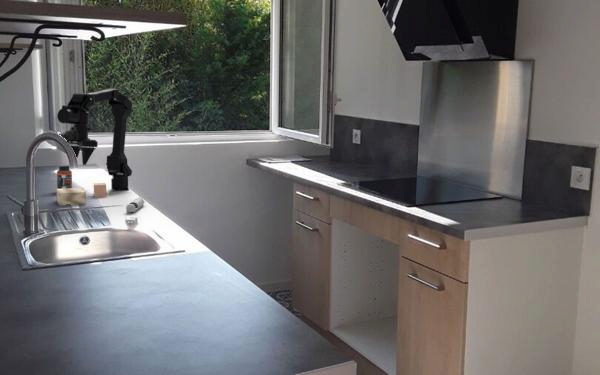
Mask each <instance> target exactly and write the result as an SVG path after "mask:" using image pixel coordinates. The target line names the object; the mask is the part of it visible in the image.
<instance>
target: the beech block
mask: <svg viewBox="0 0 600 375" xmlns="http://www.w3.org/2000/svg"><path fill="white" fill-rule="evenodd" d="M56 202H57V205H58V204H59V205H58V206H67V205H66V204H77V205H87V192H86V190H85V189H84V187H72V188H64V189H57V188H56Z"/></svg>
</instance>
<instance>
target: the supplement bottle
mask: <svg viewBox="0 0 600 375" xmlns="http://www.w3.org/2000/svg"><path fill="white" fill-rule="evenodd" d="M58 168H59V169H58V170H57V171H56V186H57V188H56V190H57V189H64V188H73V172H72V170H70V165H69V164H59V165H58Z"/></svg>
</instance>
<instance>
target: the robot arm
mask: <svg viewBox="0 0 600 375" xmlns="http://www.w3.org/2000/svg"><path fill="white" fill-rule="evenodd" d="M104 101H107V104H108V105H109V106H110V108H111V114H112V116H113V119H114V122H113V123H114V124H113V134H112V135H113V137H112V138H113V139H112V151H111V153H110V154H109V155H107V156H106V164H105V165H106V168H107V173H108V176H112V178H110V187H111V189H112V190H113V191H129V190H130V189H129V177H131V176H132V175H133V170H132V169H131V168H130V166H129V164H128V158H127V156H126V154H125V147H126V146H125V145H126V132H127V120H128V119H129V117H130V116H131V113H132V107H133V103H132V101H131V100H130V99H129V98H128V97H127V96H126V95H124V94H122V93H121V92H119V90H118V89H116V88H106V89H103V90H98V91H94V92H89V93H88V92H86V93H85V92H73V94H72V97H71V98H70V99H69V102H68V103H67V105H61V109H59V110H58V112H57V114H56V116H57V121H58V122H59V123H61V124H67V125H73V126H71V127H70V130H66V131H63V132H59V133H58V134H59V135H61V136H62V137H63V138H65V139H66V140H67V142H68V143H69V144H70V145H71V147H72V148H73V150H74V152H75V154H76V157H77V159H78V157H79V156H80V152H81V162H82V165H83V166H86V165H87V164H88V161H89V160H90V159H91V156H92V155H93V153H94V151H95V150H96V149H97V148H98V147H99V146H98V141H97V140H96V139H91V138H89V131H91V127H89V122H90V121H89V120H90V119H89V118H90V115H93V114H94V113H93V111H92V110H91V109H90V108H91V107H94V106H95V104H97V103H100V102H104Z"/></svg>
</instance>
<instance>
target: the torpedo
mask: <svg viewBox="0 0 600 375" xmlns="http://www.w3.org/2000/svg"><path fill="white" fill-rule="evenodd" d="M138 191H139V195H138V196H139V197H137V198H135V199H134V200H132V201H131V202H129V203H128V204H127V205H126V208H125V210H126V212H127V213H128V214H132V213H131V212H134V213H135V212H136V211H138V210H139V209H140V208H142V207H143V206H144V204H145V203H146V200H144V199H143V197H141V195H140V194H141V192H140V191H141V190H140V189H138Z"/></svg>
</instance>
